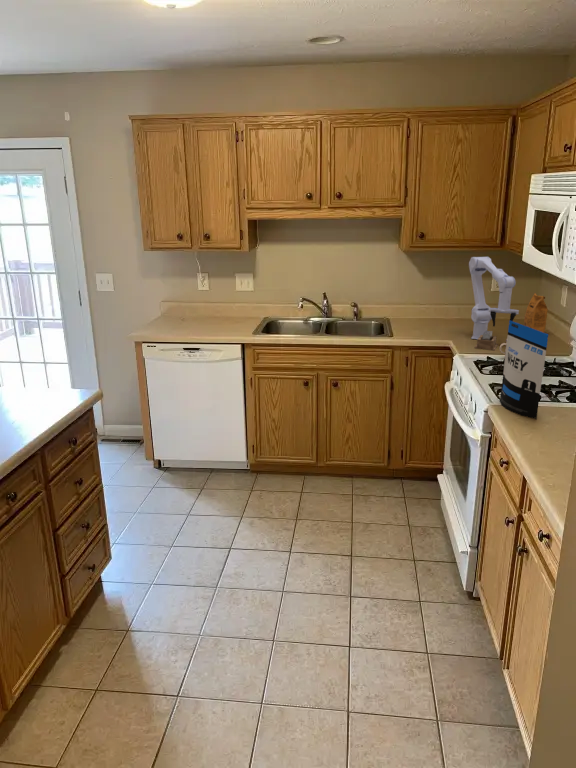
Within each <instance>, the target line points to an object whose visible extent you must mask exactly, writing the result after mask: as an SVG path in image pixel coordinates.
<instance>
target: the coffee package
mask: <svg viewBox="0 0 576 768" xmlns="http://www.w3.org/2000/svg"><path fill="white" fill-rule="evenodd" d="M545 299H546V296H544V295H537V293H534V294H533V295H532V297H531V298H530V301H529V303H528V305H527V307H526V311H525V314H524V320H523V325H524V326H527V327H530V328H532V329H535V330H538V331H540V332H543V333H545V332H546V325H547V320H548V319H547V317H548V311H549V309H548V307H547V303H546V302H545Z"/></svg>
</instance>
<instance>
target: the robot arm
mask: <svg viewBox="0 0 576 768" xmlns="http://www.w3.org/2000/svg"><path fill="white" fill-rule="evenodd" d="M468 268H469V274H470V276H471V284H472V285H471V286H472V291H473V299H474V306H473V307H472V309H471V315H470V316H471V317H470V318H471V321H472V322H473V328H472V329H473V330H472V331H473V332H472V335H471V338H470V339H472V340H478V338H479V337H480V336H481V335H483V333H484V332H485V331H488V329H489V327H488V326H489V323H490V321H492V327H495V326H496V317H497V314H510V315H509V320H510V321H513V322H514V320H515V317H516V316H517V315H520V314H519V312H520V310H519V309H515V308H513V309H512V308H511V301H512V295H513V294H512V292H513V288H515V286H516V283H517V281H516V279H515V277H514V276H512V275H511V276H510V275H508V274H507V273H506V272H505V271H504V269H503V268H498V267H496V266H495V264H494V263H493V262H492V258H490V257H489V256H471V257H470V260H469V262H468ZM487 271H488V272H489V273H490V274H491V277H492V279H493V280H495V282H496V283H497V285H498V292H499V297H498V303H497V307H491V306H490V305H488V304H487V303H486V297H485V289H484V284H483V277H482V276H483V274H485V273H486V272H487Z"/></svg>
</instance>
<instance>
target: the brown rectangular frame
mask: <svg viewBox="0 0 576 768" xmlns="http://www.w3.org/2000/svg"><path fill="white" fill-rule="evenodd" d="M482 339H483V335H481V336H480V337H479V338H478V339H476V344H475V346H474V349H478V350H488V351H495V350H496V349H497V348H498V345H499V343H497V336H496V335H492V339H491V341H490V340H482Z"/></svg>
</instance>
